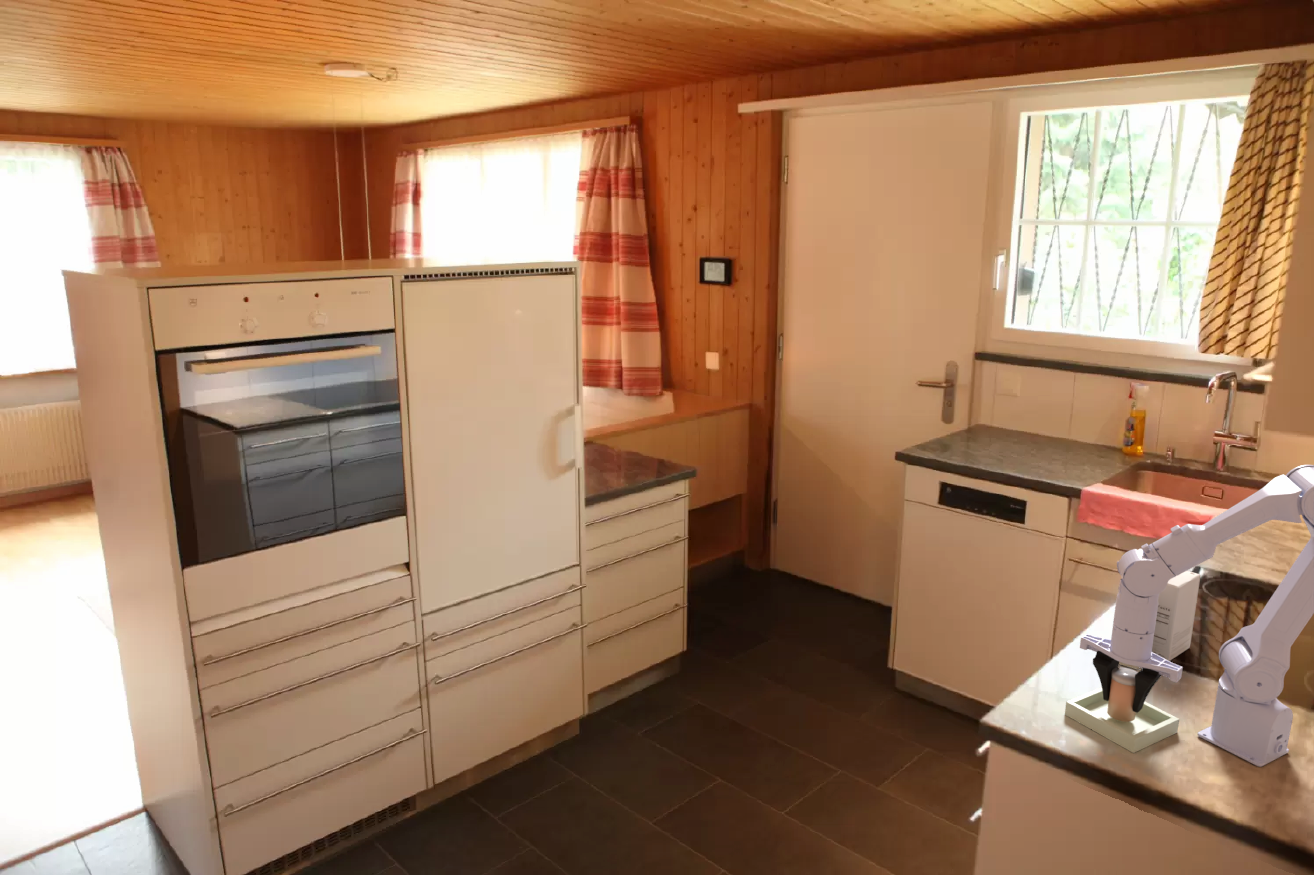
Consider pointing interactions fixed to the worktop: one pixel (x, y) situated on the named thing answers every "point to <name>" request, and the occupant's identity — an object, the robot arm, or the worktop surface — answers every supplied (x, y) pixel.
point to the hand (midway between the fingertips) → (1122, 703)
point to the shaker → (1122, 694)
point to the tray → (1129, 735)
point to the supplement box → (1176, 615)
